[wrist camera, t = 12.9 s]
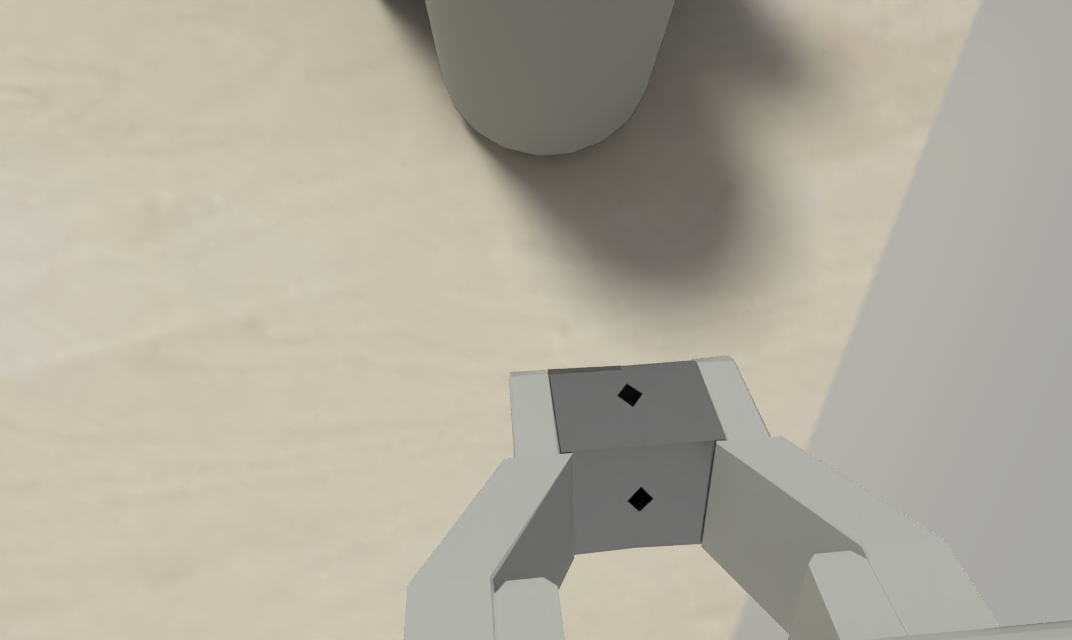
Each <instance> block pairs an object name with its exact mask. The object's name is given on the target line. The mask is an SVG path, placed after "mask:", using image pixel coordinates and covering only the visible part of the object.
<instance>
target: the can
mask: <svg viewBox="0 0 1072 640" xmlns="http://www.w3.org/2000/svg"><path fill="white" fill-rule="evenodd" d="M425 2H426V7H427V11H428V16H429V20H430V25H431V29H432V34H433V38H434V43H435V47H436V52H437V56H438V61H439V66H440V70H441V75H442V79H443V81H444V84H445V86H446V88H447V90H448V93H449V95H450V97H451V100H452V102H453V104H454V107H455V108H456V109H457V110H458V112H459V113H460V114H461V115H462V116H463V117H464V118H465V119H466V120H467V121H468V123H469V124H470V125H471V126H472V127H473V128H474V129H475V130H476V131H477V132H478V133H480V134H482V135H483V136H485V137H487V138H489V139H490V140H492V141H494V142H496V143H497V144H499V145H501V146H503V147H504V148H506V149H511V150H515V151H520V152H524V153H529V154H533V155H538V156H541V155H554V154H566V153H574V152H576V151H579V150H581V149H584V148H586V147H589V146H591V145H594V144H596V143H599V142H601V141H604V140H605V139H606V138H607V137H608V136H610V135H611V134H612V133H613V132H614V131H616V130H617V129H618V128H619V127H620V126H622V125H623V124H624V123H625V122H626V121H628V120H629V118H630V117H631V115H632V113H633V112H634V110H635V109H636V107H637V105H638V104H639V102H640V100H641V99H642V97H643V96H644V94H645V92H646V89H647V86H648V83H649V79H650V76H651V73H652V70H653V67H654V64H655V61H656V58H657V55H658V52H659V49H660V46H661V43H662V40H663V37H664V34H665V31H666V28H667V25H668V21H669V18H670V15H671V12H672V9H673V6H674V3H675V0H425Z"/></svg>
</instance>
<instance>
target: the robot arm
mask: <svg viewBox="0 0 1072 640" xmlns="http://www.w3.org/2000/svg"><path fill="white" fill-rule="evenodd" d="M509 387H510V402H511V417H512V433H513V448H514V458H506V459H504V460H503V461H502V463H501V464H500V465H499V466H498V468H497V469H496V470H495V472H494V473H493V474H492V476H491V477H490V478H489V480H488V481H487V482H486V484H485V485H484V486H483V487H482V489H481V490H480V491H479V493H478V494H477V495H476V497H475V498H474V499H473V501H472V502H471V503H470V504H469V506H468V507H467V508H466V510H465V511H464V512H463V514H462V515H461V516H460V518H459V519H458V520H457V522H456V523H455V524H454V525H453V527H452V528H451V529H450V531H449V532H448V533H447V535H446V536H445V537H444V539H443V540H442V541H441V543H440V544H439V545H438V546H437V548H436V549H435V550H434V552H433V553H432V554H431V556H430V557H429V558H428V560H427V561H426V562H425V564H424V565H423V566H422V567H421V569H420V570H419V571H418V573H417V574H416V575H415V577H414V578H413V579H412V581H411V582H410V583H409V585H408V586H407V600H406V614H405V628H404V640H565V638H564V630H563V623H562V615H561V608H560V600H559V593H558V590H559V588H560V586H561V584H562V582H563V580H564V578H565V576H566V574H567V572H568V569H569V567H570V565H571V563H572V561H573V559H574V555H576V554H585V553H594V552H602V551H611V550H620V549H629V548H639V547H656V546H673V545H689V544H702V548H703V549H704V550H705V551H706V552H707V553H708V554H709V555H710V556H711V557H712V558H713V559H714V560H715V561H716V562H717V563H718V564H719V565H720V566H721V567H722V568H723V569H724V570H725V571H726V572H727V573H728V574H729V575H730V576H731V577H732V578H733V579H734V580H735V581H736V582H737V583H738V584H739V585H740V586H741V587H742V588H743V589H744V590H745V591H746V592H747V593H748V594H749V595H750V596H751V597H752V598H753V599H754V600H755V601H757V603H758V604H759V605H760V606H761V607H762V608H763V609H764V610H765V611H766V612H767V613H768V614H769V615H770V616H771V617H772V618H773V619H774V620H775V621H776V622H777V623H779V625H780V626H781V627H783V629H784V630H785V631H786V632H787V633H788V634H789V638H788V640H1072V620H1070V621H1059V622H1048V623H1038V624H1026V625H1016V626H1005V627H1000V626H999V625H998V623H997V622H996V620H995V619H994V617H993V615H992V614H991V612H990V611H989V609H988V608H987V606H986V605H985V603H984V601H983V600H982V598H981V596H980V595H979V593H978V592H977V590H976V589H975V587H974V585H973V584H972V582H971V581H970V579H969V577H968V576H967V574H966V573H965V571H964V570H963V568H962V566H961V565H960V563H959V562H958V560H957V558H956V557H955V555H954V554H953V552H952V551H951V549H950V547H949V546H948V544H947V543H946V541H945V540H944V539H942V538H941V537H939V536H938V535H936V534H934V533H932V532H931V531H930V530H928V529H927V528H925V527H923V526H922V525H920V524H919V523H917V522H916V521H914V520H912V519H911V518H909V517H908V516H906V515H905V514H903V513H901V512H900V511H898V510H897V509H895V508H894V507H892V506H890V505H889V504H887V503H886V502H884V501H883V500H881V499H879V498H877V497H876V496H875V495H873V494H872V493H870V492H868V491H867V490H865V489H864V488H862V487H861V486H859V485H857V484H856V483H854V482H853V481H851V480H850V479H848V478H846V477H845V476H843V475H842V474H840V473H839V472H837V471H835V470H834V469H832V468H831V467H829V466H828V465H826V464H824V463H823V462H821V461H820V460H818V459H817V458H815V457H813V456H812V455H810V454H809V453H807V452H806V451H804V450H803V449H801V448H799V447H798V446H796V445H795V444H793V443H792V442H790V441H788V440H787V439H785V438H784V437H782V436H779V437H771V436H770V434H769V432H768V430H767V428H766V426H765V424H764V422H763V420H762V417H761V415H760V413H759V411H758V409H757V407H756V405H755V403H754V401H753V399H752V397H751V395H750V392H749V390H748V388H747V386H746V384H745V382H744V380H743V378H742V376H741V374H740V372H739V369H738V367H737V365H736V363H735V361H734V359H732V358H731V357H729V356H720V357H710V358H700V359H692V361H677V362H664V363H652V364H640V365H627V366H606V367H587V368H568V369H549V370H548V371H547V372H546V370H538V371H522V372H510V375H509Z"/></svg>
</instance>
